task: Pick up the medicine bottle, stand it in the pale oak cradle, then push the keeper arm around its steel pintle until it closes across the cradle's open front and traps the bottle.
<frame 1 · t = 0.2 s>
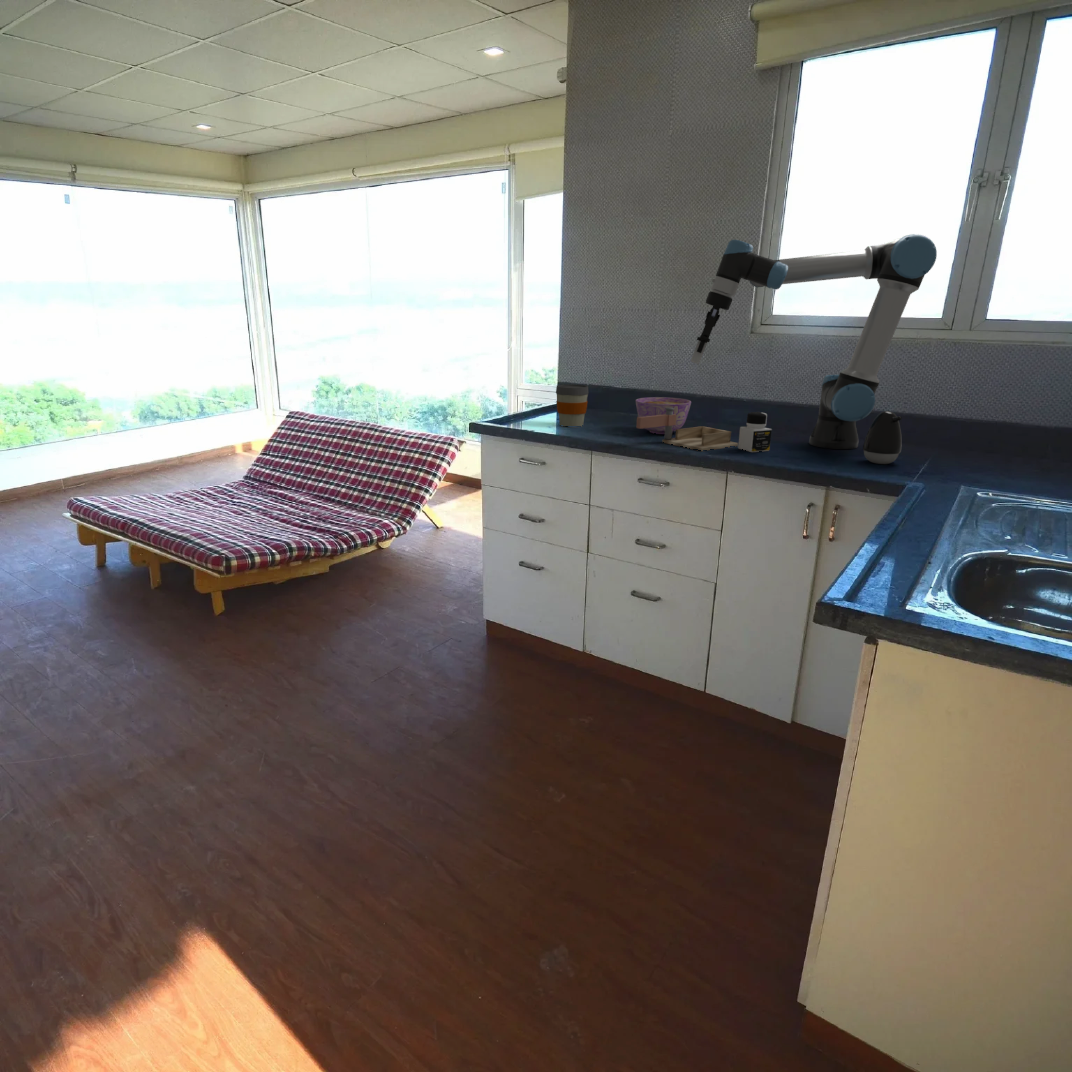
hand: (695, 361, 219), 27 cm above the worktop, tool tilted 20°, fingers open, 13 cm apart
reusable coffee cup: (571, 425, 267), on the worktop
medicine bottle: (753, 450, 223), on the worktop
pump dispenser: (879, 463, 206), on the worktop
bowl of food: (661, 432, 254), on the worktop
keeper: (655, 425, 229), point 6 cm above the worktop, hinge at -90.0°
cradle: (701, 443, 232), on the worktop
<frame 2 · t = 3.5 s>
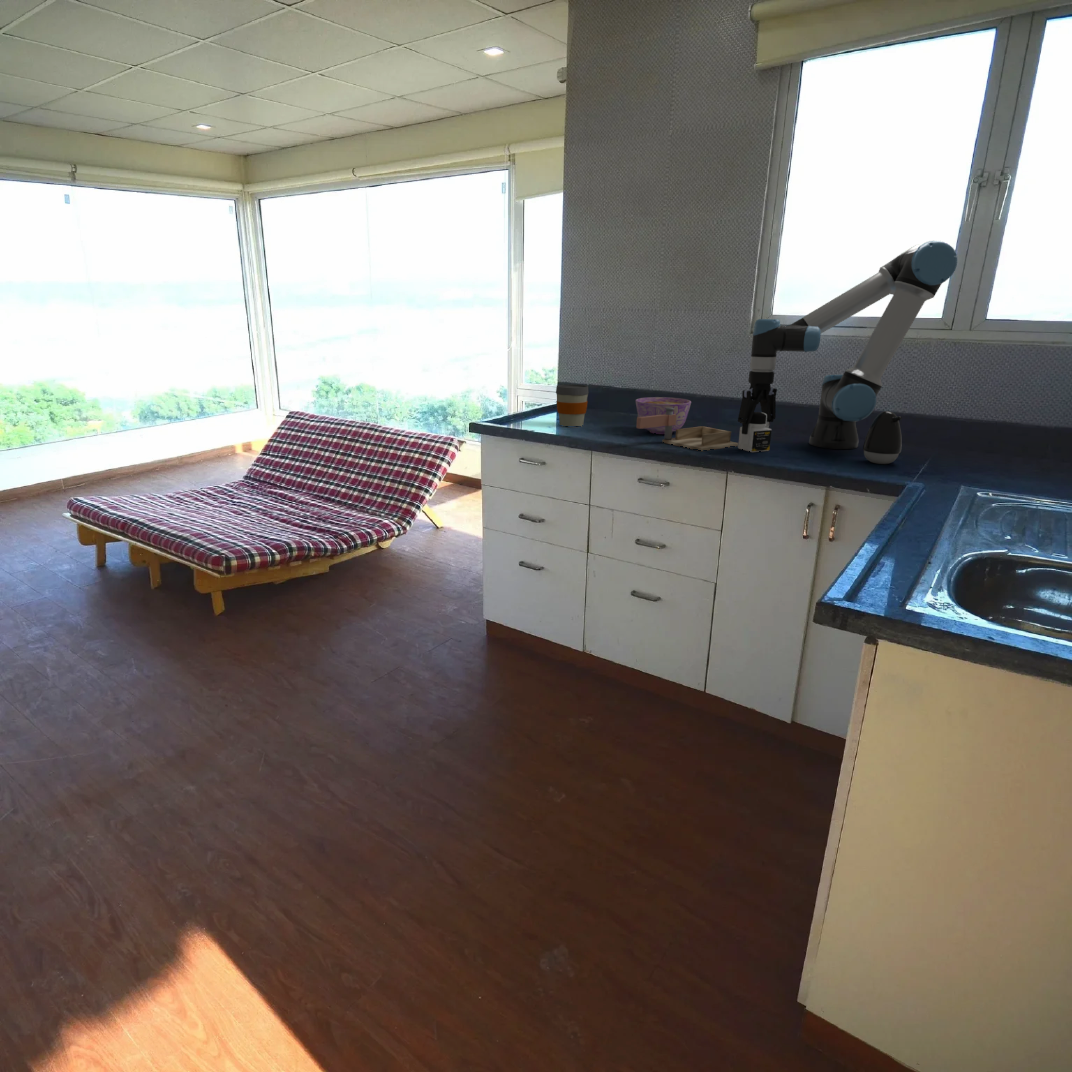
hand: (754, 442, 223), 2 cm above the worktop, tool pointing down, fingers closed on medicine bottle, 8 cm apart
medicine bottle: (753, 450, 223), on the worktop, touching gripper
everything else where it was.
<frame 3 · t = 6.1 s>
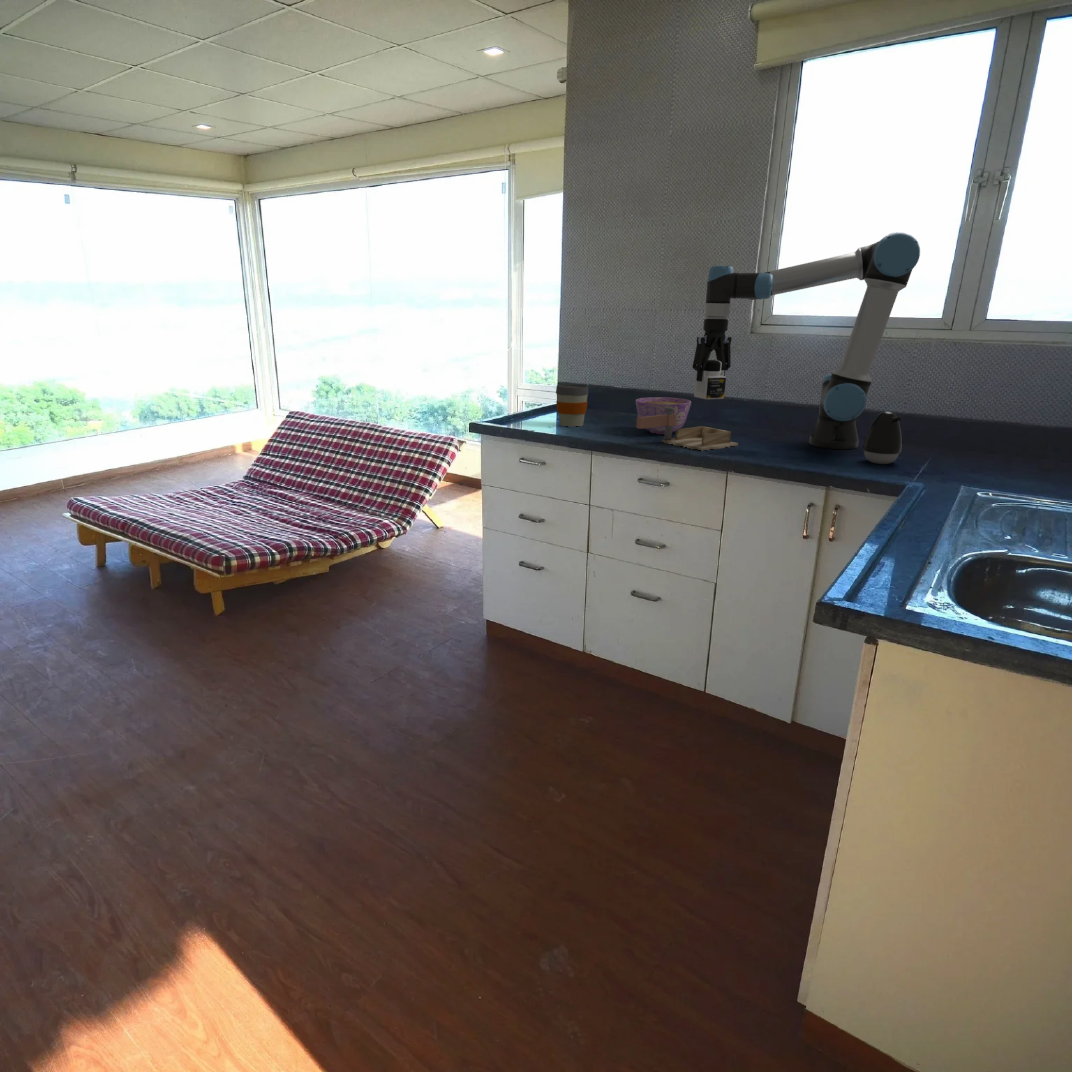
hand: (709, 390, 226), 18 cm above the worktop, tool pointing down, fingers closed on medicine bottle, 8 cm apart
medicine bottle: (708, 398, 227), point 15 cm above the worktop, touching gripper
everything else where it was.
when the fingers open (5 cm above the worktop, at t = 9.0 s): medicine bottle drops 2 cm, resting on cradle.
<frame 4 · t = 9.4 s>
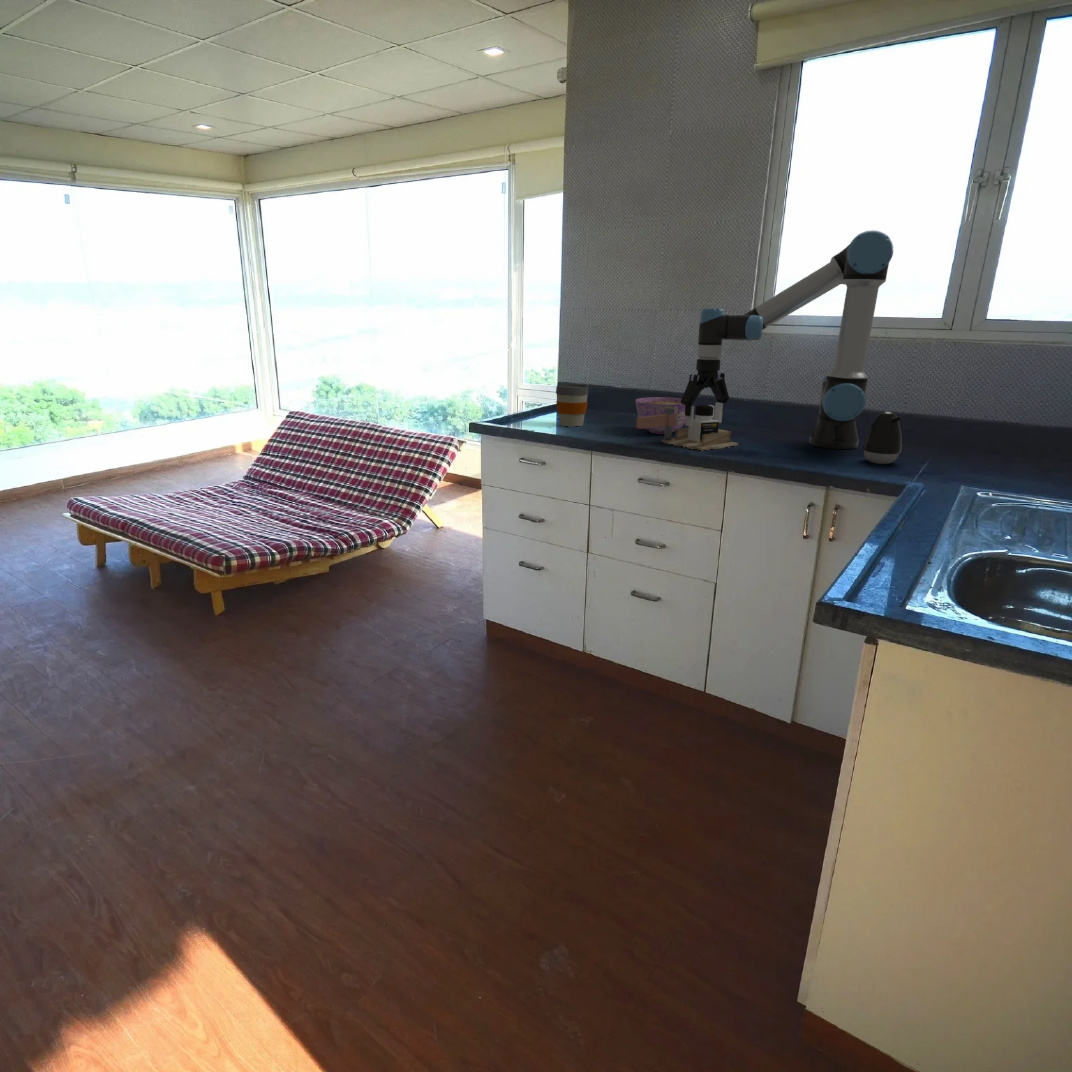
hand: (703, 424, 230), 7 cm above the worktop, tool pointing down, fingers open, 13 cm apart
medicine bottle: (702, 441, 232), point 1 cm above the worktop, touching cradle
everything else where it was.
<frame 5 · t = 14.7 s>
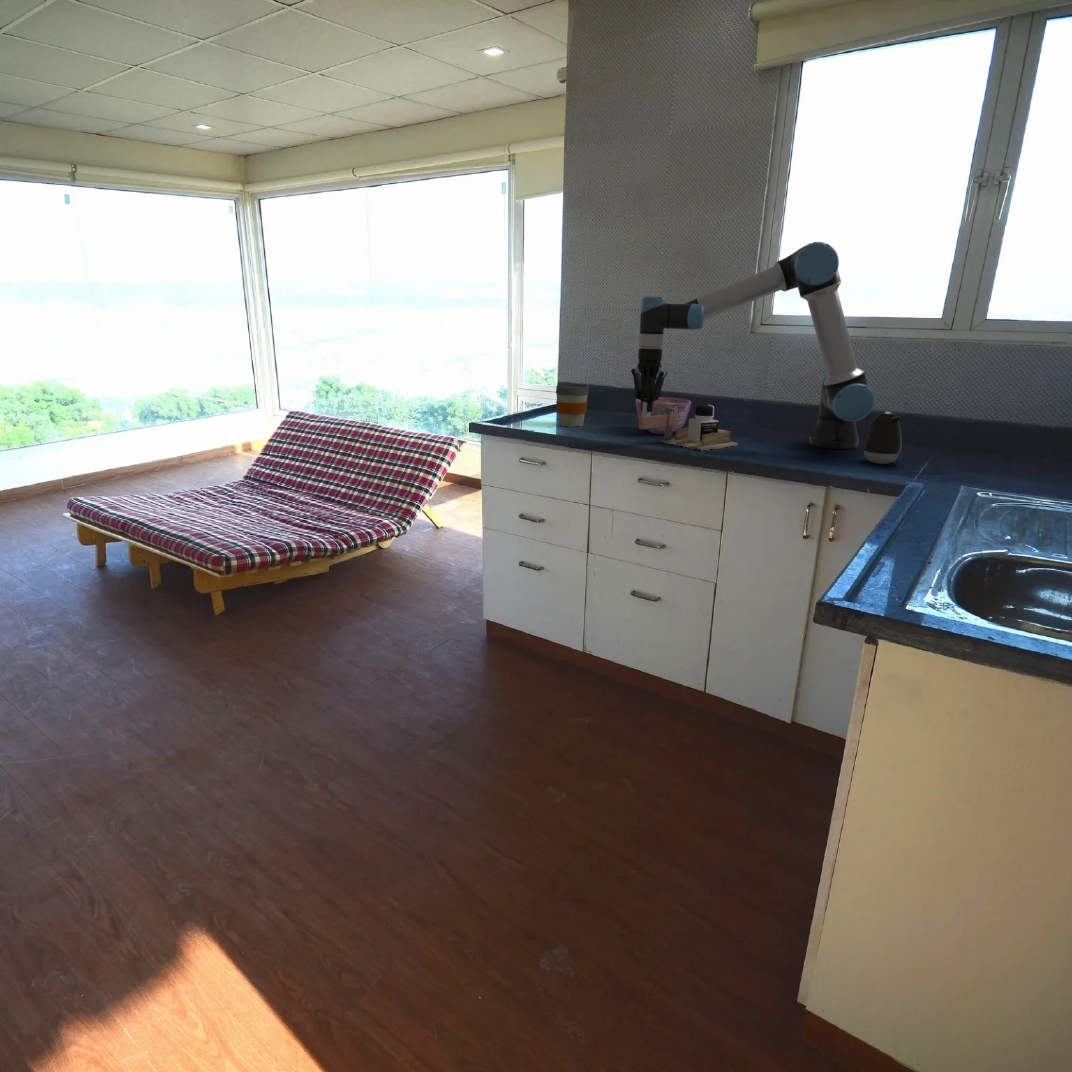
hand: (645, 421, 228), 8 cm above the worktop, tool pointing down, fingers closed
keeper: (656, 425, 229), point 6 cm above the worktop, hinge at -85.0°, touching gripper
everything else where it was.
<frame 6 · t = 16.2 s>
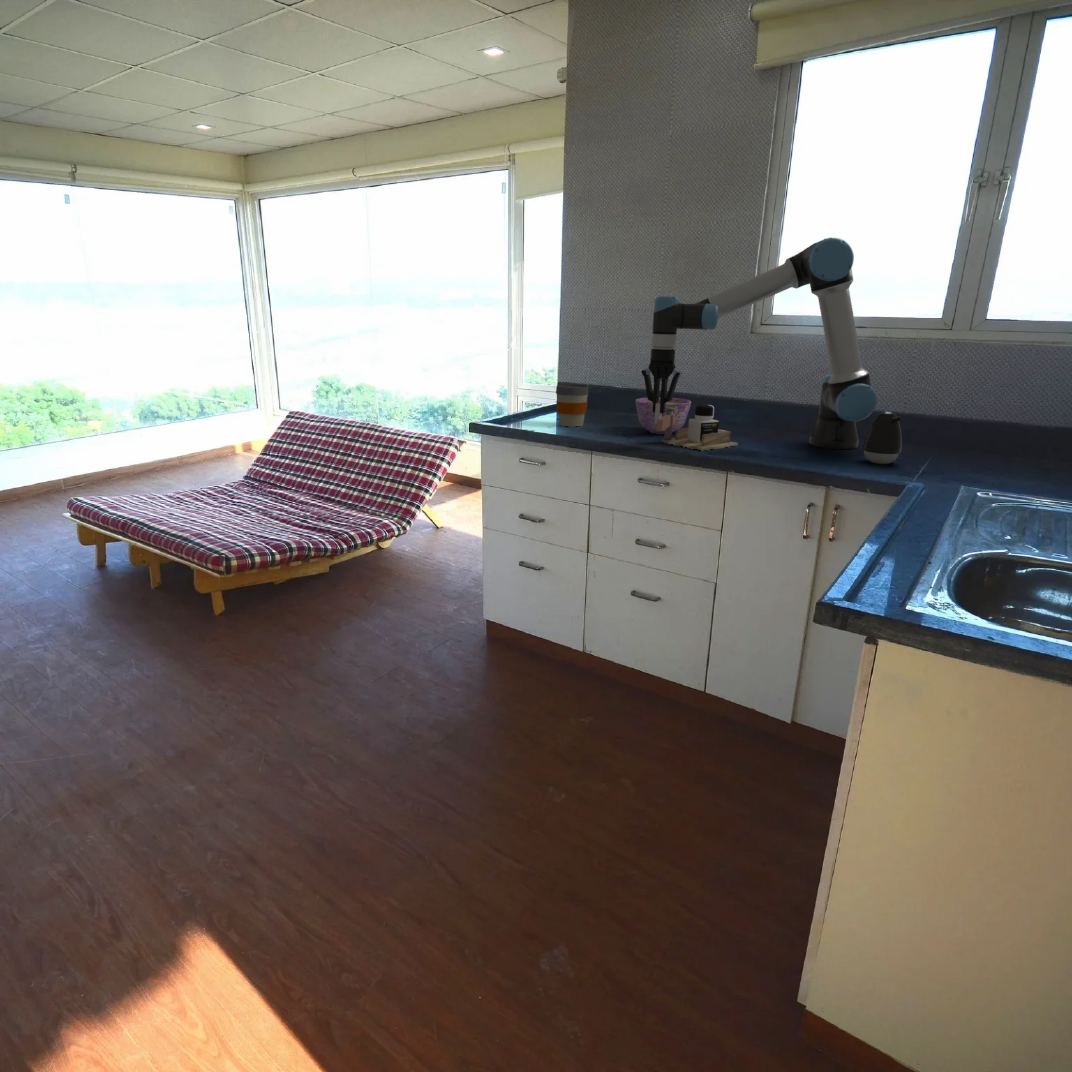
hand: (657, 423, 224), 8 cm above the worktop, tool pointing down, fingers closed
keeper: (664, 426, 227), point 6 cm above the worktop, hinge at -56.2°, touching gripper
everything else where it was.
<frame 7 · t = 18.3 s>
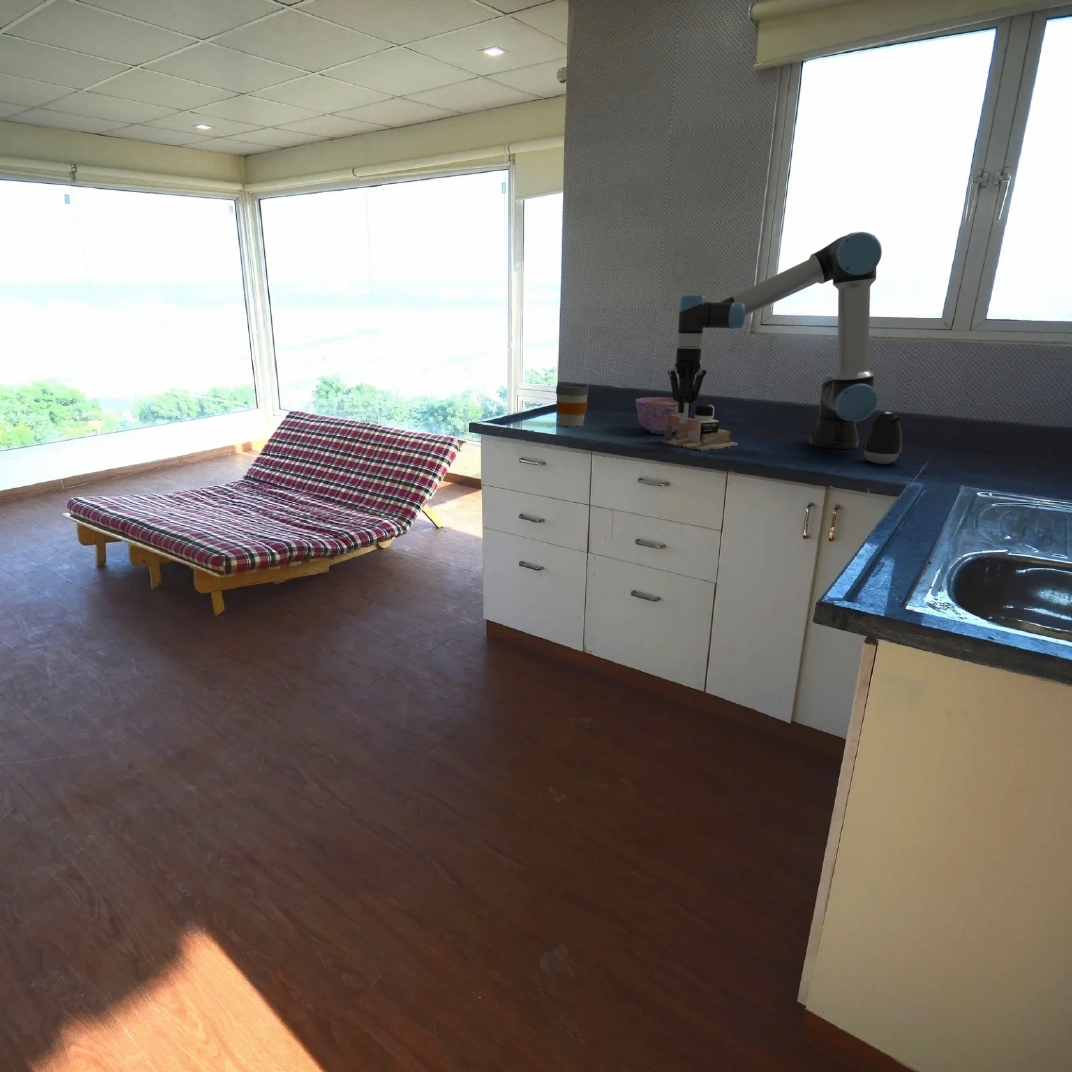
hand: (683, 422, 223), 8 cm above the worktop, tool pointing down, fingers closed
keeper: (680, 426, 227), point 6 cm above the worktop, hinge at -6.6°, touching gripper
everything else where it was.
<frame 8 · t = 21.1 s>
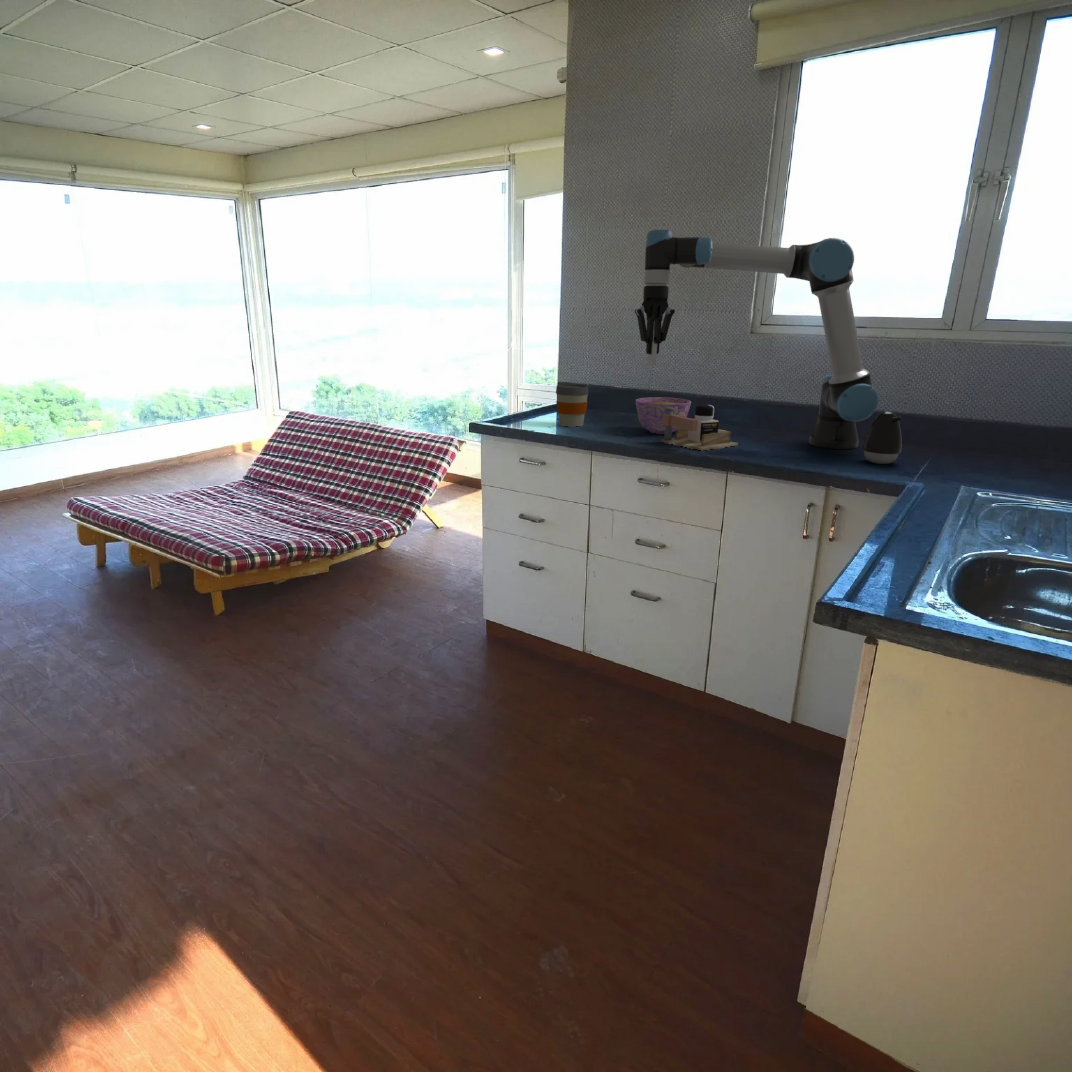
hand: (651, 364, 218), 26 cm above the worktop, tool pointing down, fingers closed
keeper: (680, 426, 227), point 6 cm above the worktop, hinge at -6.6°
everything else where it was.
at the end: medicine bottle inside the target area on the cradle (0.8 cm from its centre), point 0.8 cm above the cradle's base; medicine bottle tilted 0°; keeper at -7° (first picture: -90°) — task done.
